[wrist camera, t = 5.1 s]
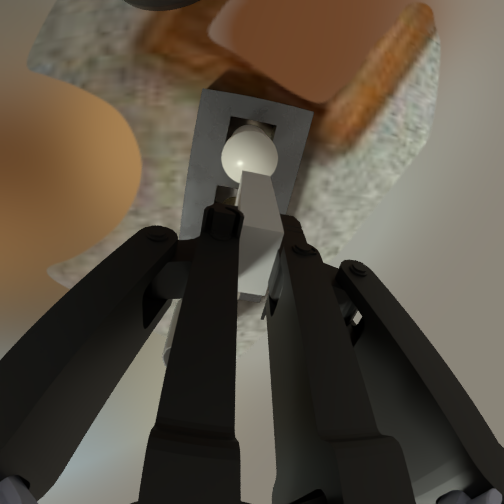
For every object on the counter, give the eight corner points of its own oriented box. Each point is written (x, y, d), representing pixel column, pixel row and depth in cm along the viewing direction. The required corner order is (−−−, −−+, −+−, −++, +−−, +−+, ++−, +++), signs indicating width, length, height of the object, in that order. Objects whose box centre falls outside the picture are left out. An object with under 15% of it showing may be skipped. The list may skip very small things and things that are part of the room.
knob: (232, 118, 29) (227, 126, 22) (274, 127, 30) (283, 138, 23) (223, 158, 31) (216, 179, 24) (265, 166, 32) (270, 189, 25)
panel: (206, 88, 30) (202, 88, 27) (308, 110, 31) (313, 112, 29) (178, 275, 43) (174, 288, 40) (258, 289, 44) (259, 302, 42)
